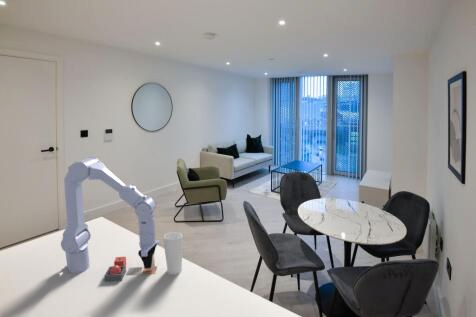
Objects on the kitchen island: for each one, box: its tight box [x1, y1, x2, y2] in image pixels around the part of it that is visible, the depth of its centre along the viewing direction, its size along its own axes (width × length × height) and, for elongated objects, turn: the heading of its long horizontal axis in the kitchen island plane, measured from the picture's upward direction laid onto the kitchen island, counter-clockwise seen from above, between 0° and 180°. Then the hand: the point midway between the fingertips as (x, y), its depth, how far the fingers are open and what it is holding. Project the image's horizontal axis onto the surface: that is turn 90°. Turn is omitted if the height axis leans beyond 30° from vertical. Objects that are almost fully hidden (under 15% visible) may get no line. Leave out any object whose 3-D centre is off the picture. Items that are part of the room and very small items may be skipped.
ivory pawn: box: [143, 253, 156, 269], centre depth 112 cm, size 4×4×5 cm
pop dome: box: [110, 265, 121, 274], centre depth 108 cm, size 4×4×3 cm
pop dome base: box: [104, 265, 127, 282], centre depth 109 cm, size 6×6×2 cm
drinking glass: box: [163, 231, 184, 276], centre depth 112 cm, size 7×7×15 cm
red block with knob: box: [113, 256, 127, 267], centre depth 115 cm, size 3×3×4 cm
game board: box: [125, 265, 158, 276], centre depth 112 cm, size 17×12×1 cm
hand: (149, 264), depth 112 cm, fingers closed on ivory pawn, 4 cm apart
